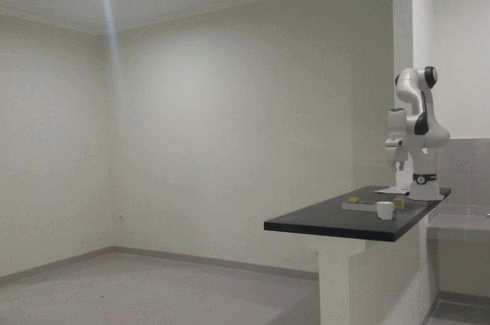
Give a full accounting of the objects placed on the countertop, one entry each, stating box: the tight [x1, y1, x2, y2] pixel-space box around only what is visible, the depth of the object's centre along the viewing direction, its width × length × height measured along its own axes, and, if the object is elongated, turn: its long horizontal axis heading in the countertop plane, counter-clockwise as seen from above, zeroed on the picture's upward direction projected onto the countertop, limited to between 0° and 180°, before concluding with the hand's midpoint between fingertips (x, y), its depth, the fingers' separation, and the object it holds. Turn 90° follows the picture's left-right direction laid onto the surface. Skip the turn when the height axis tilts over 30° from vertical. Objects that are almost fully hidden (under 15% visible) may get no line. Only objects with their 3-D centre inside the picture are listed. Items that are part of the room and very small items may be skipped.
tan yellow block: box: [392, 197, 405, 211], centre depth 194 cm, size 4×4×5 cm
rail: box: [341, 200, 397, 213], centre depth 193 cm, size 8×23×4 cm, turn 50°
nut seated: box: [347, 196, 360, 204], centre depth 197 cm, size 4×4×5 cm
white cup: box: [376, 201, 394, 221], centre depth 173 cm, size 7×7×7 cm
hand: (397, 171), depth 193 cm, fingers open, 8 cm apart
